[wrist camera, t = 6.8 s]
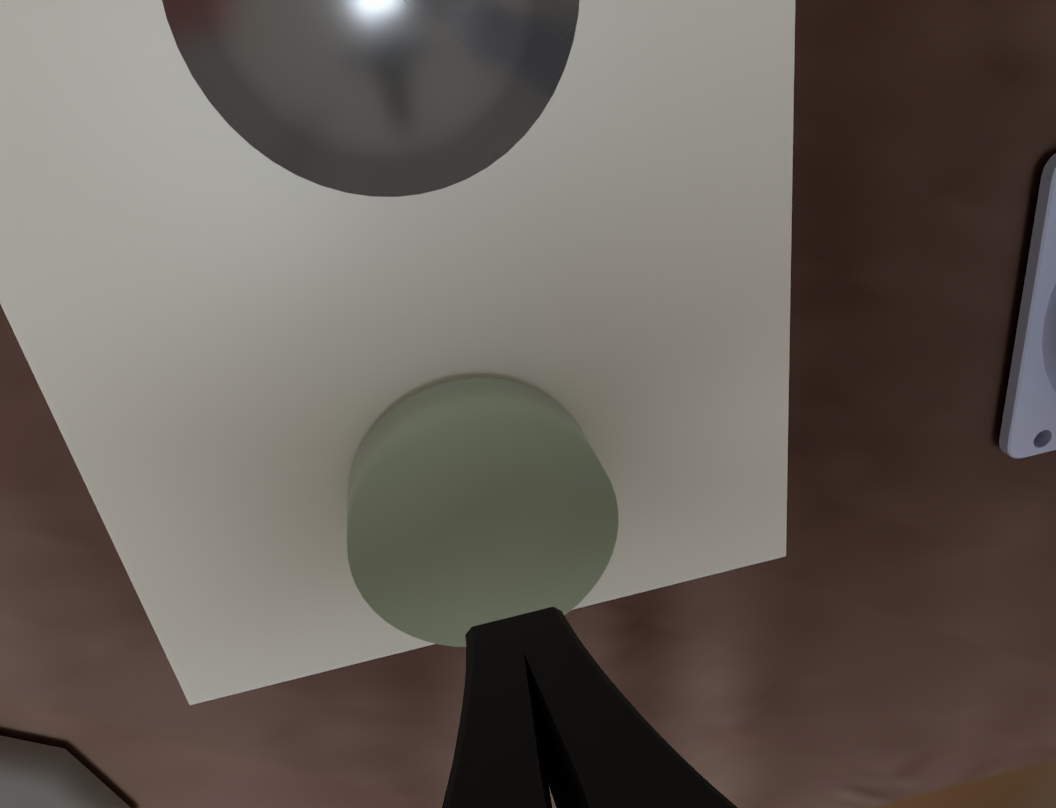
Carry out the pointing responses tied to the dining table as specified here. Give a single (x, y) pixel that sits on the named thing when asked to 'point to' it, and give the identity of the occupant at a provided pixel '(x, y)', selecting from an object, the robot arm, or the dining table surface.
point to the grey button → (377, 82)
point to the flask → (48, 779)
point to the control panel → (396, 311)
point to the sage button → (476, 510)
